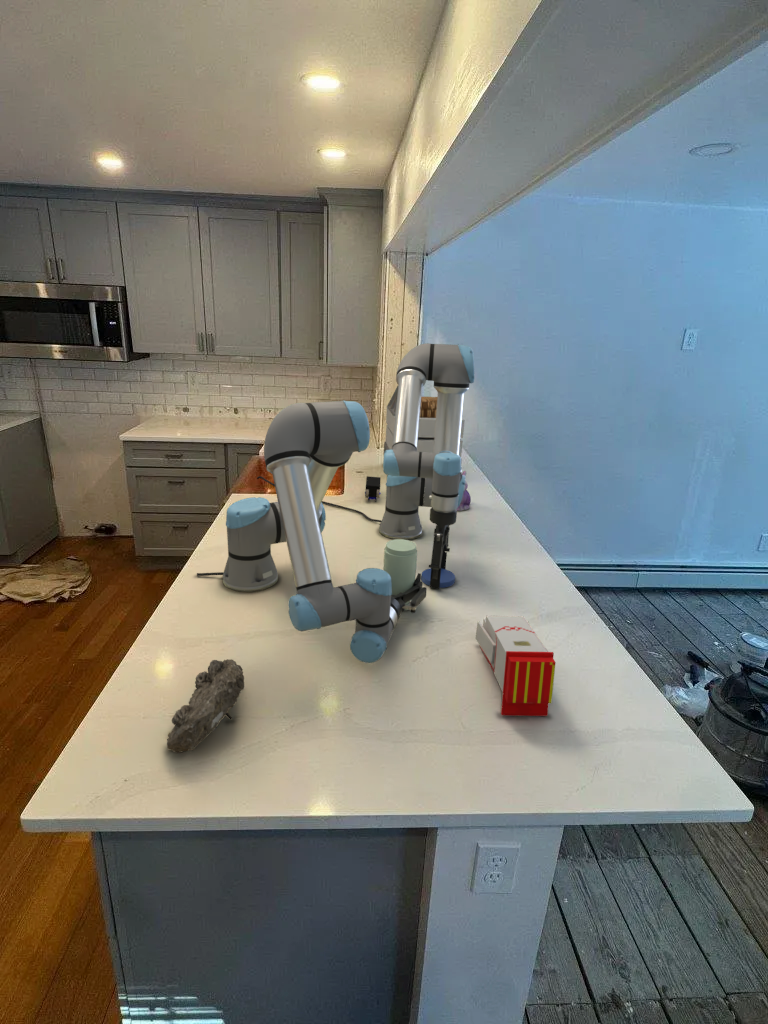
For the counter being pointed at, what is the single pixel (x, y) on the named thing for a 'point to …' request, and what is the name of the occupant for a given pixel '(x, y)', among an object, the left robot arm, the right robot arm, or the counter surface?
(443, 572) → the lid
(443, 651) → the counter surface
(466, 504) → the figurine
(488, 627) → the toy
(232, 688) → the fossil
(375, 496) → the figurine character
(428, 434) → the grey boxy piece
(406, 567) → the jar
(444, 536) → the right robot arm
